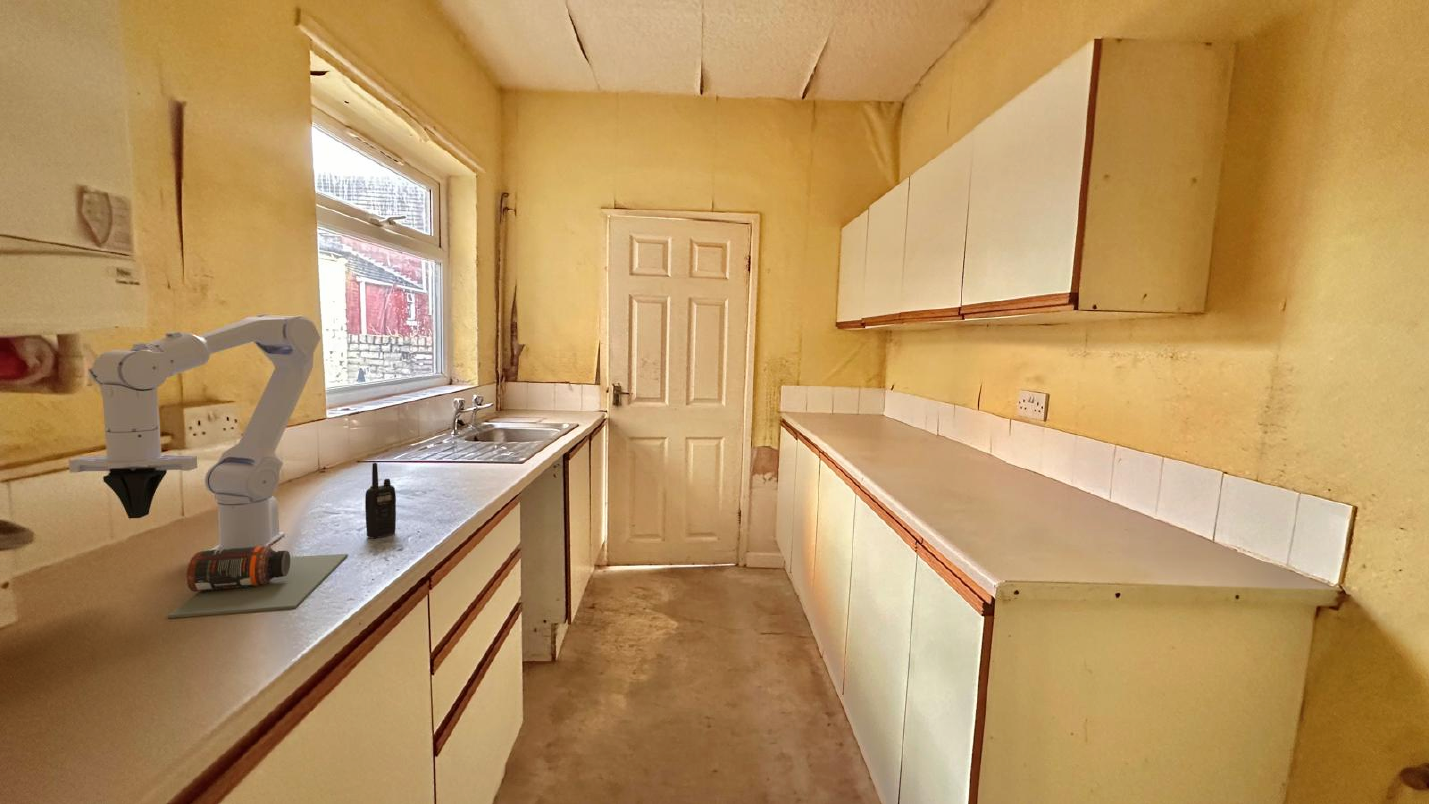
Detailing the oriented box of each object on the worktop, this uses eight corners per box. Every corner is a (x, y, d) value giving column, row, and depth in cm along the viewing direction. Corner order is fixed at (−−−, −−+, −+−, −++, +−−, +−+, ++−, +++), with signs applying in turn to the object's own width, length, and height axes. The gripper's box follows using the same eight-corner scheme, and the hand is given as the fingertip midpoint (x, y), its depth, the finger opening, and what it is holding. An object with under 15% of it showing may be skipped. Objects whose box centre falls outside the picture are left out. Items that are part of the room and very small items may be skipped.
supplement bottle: (186, 600, 79) (281, 590, 84) (182, 562, 78) (278, 554, 83) (205, 580, 85) (294, 571, 89) (202, 544, 84) (291, 537, 88)
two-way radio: (370, 540, 105) (369, 465, 104) (359, 536, 108) (357, 461, 106) (399, 533, 110) (398, 460, 109) (388, 528, 112) (386, 457, 111)
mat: (248, 561, 94) (248, 559, 94) (347, 555, 98) (347, 553, 98) (167, 618, 75) (167, 615, 75) (295, 608, 79) (295, 605, 79)
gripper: (47, 433, 77) (55, 527, 78) (173, 433, 81) (179, 522, 82) (89, 426, 84) (95, 512, 85) (203, 426, 88) (208, 508, 89)
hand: (138, 516), depth 84 cm, fingers closed
